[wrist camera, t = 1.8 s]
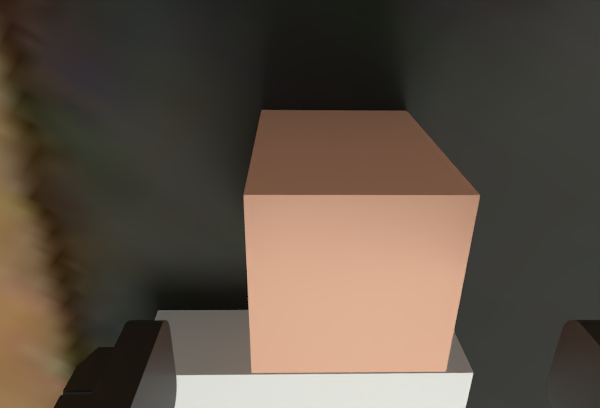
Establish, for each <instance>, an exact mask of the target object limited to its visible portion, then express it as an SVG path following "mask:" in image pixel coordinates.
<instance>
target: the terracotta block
mask: <svg viewBox="0 0 600 408" xmlns="http://www.w3.org/2000/svg"><path fill="white" fill-rule="evenodd" d="M479 198H480V195H479V193H478V192H477V191H476V190H475V189H474V188H473V187H472V185H471V184H470V183H469V182H468V181H467V180H466V178H465V177H464V176H463V175H462V174H461V173H460V172H459V170H458V169H457V168H456V167H455V166H454V165H453V163H452V162H451V161H450V160H449V159H448V158H447V157H446V155H445V154H444V153H443V152H442V151H441V150H440V149H439V147H438V146H437V145H436V144H435V143H434V142H433V140H432V139H431V138H430V137H429V136H428V135H427V134H426V132H425V131H424V130H423V129H422V128H421V127H420V125H419V124H418V123H417V122H416V121H415V120H414V119H413V117H412V116H411V115H410V114H409V113H408V112H407V111H364V110H261V114H260V119H259V124H258V128H257V133H256V138H255V143H254V147H253V152H252V157H251V162H250V167H249V171H248V176H247V181H246V186H245V190H244V216H245V238H246V261H247V283H248V305H249V328H250V350H251V372H252V373H321V372H446V369H447V364H448V359H449V353H450V348H451V343H452V338H453V333H454V328H455V322H456V317H457V312H458V307H459V302H460V296H461V291H462V286H463V281H464V276H465V271H466V265H467V260H468V255H469V250H470V245H471V239H472V234H473V229H474V224H475V219H476V214H477V208H478V203H479Z"/></svg>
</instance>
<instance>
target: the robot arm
mask: <svg viewBox="0 0 600 408" xmlns="http://www.w3.org/2000/svg"><path fill="white" fill-rule="evenodd" d="M547 388H548V395H549V399H550V402H551V405H552V407H553V408H600V320H570V321H568V322H566V324H565V325H564V327H563V329H562V332H561V335H560V339H559V342H558V345H557V349H556V352H555V355H554V358H553V362H552V365H551V368H550V372H549V375H548V380H547ZM176 392H177V379H176V370H175V362H174V355H173V347H172V339H171V331H170V326H169V323H168V321H167V320H130V321H128V322H127V323H126V324H125V326H124V328H123V330H122V332H121V334H120V336H119V338H118V340H117V342H116V344H115V346H114V347H98V348H97V349H96V350H95V351H94V352H93V353H91V354H90V355H89V356H88V357H87V358H86V359H85V360H84V361H83V362H81V363H80V364H79V365H78V366H77V367H76V369H75V370H74V372H73V374H72V376H71V378H70V379H69V381H68V383H67V385H66V387H65V388H64V390H63V395H61V396H60V397H59V399H58V401H57V403H56V404H55V406H54V408H175V402H176Z"/></svg>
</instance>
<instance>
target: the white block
mask: <svg viewBox="0 0 600 408" xmlns="http://www.w3.org/2000/svg"><path fill="white" fill-rule="evenodd" d="M155 320H167V321H168V323H169V326H170V331H171V339H172V347H173V355H174V362H175V370H176V379H177V392H176V402H175V408H466V403H467V399H468V394H469V390H470V386H471V381H472V377H473V371H472V369H471V367H470V365H469V362H468V360H467V358H466V356H465V354H464V352H463V350H462V347H461V345H460V343H459V341H458V339H457V337H456V335H455V332H454V333H453V338H452V343H451V348H450V353H449V359H448V364H447V369H446V372H321V373H252V372H251V350H250V328H249V310H158V312H157V315H156V317H155Z"/></svg>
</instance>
